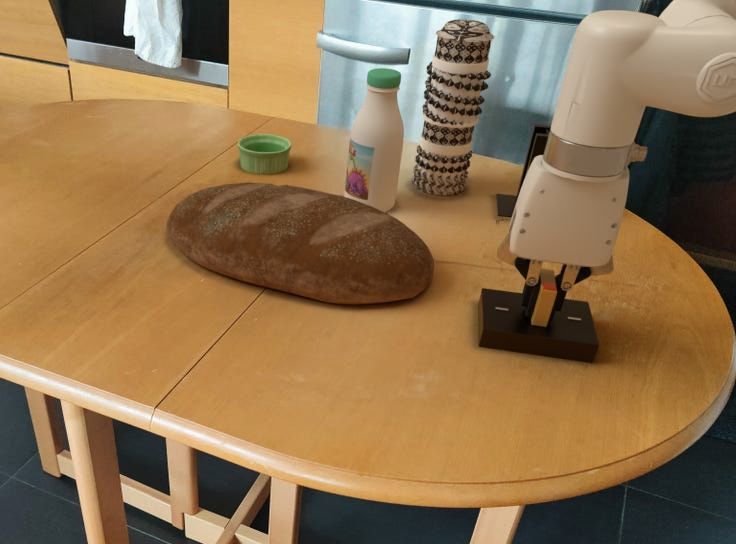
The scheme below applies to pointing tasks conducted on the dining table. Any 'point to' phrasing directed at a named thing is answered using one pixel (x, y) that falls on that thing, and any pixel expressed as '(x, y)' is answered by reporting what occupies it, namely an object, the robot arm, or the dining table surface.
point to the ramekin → (264, 153)
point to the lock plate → (536, 328)
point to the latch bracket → (524, 169)
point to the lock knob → (544, 298)
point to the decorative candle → (452, 106)
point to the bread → (302, 243)
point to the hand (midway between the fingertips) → (538, 312)
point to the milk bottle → (376, 143)
